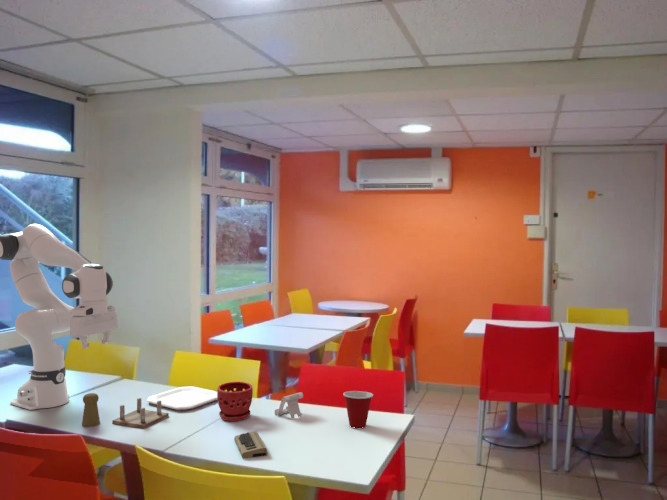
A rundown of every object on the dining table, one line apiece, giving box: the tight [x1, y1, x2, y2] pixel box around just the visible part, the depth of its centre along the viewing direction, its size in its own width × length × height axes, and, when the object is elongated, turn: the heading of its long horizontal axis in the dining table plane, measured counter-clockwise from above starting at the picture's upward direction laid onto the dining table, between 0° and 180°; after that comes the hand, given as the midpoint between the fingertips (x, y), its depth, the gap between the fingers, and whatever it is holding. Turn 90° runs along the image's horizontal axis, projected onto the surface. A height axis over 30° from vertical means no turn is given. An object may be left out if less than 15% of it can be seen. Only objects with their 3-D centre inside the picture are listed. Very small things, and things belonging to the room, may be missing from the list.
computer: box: [233, 430, 268, 460], centre depth 181 cm, size 16×8×3 cm, turn 19°
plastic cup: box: [343, 390, 374, 429], centre depth 202 cm, size 11×11×12 cm
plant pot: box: [217, 381, 254, 422], centre depth 211 cm, size 13×13×12 cm
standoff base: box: [112, 397, 170, 429], centre depth 208 cm, size 14×14×6 cm
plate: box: [146, 385, 218, 411], centre depth 232 cm, size 25×25×2 cm
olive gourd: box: [81, 392, 101, 428], centre depth 203 cm, size 6×6×11 cm
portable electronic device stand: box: [274, 391, 304, 419], centre depth 214 cm, size 9×8×8 cm
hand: (95, 345), depth 205 cm, fingers open, 8 cm apart
